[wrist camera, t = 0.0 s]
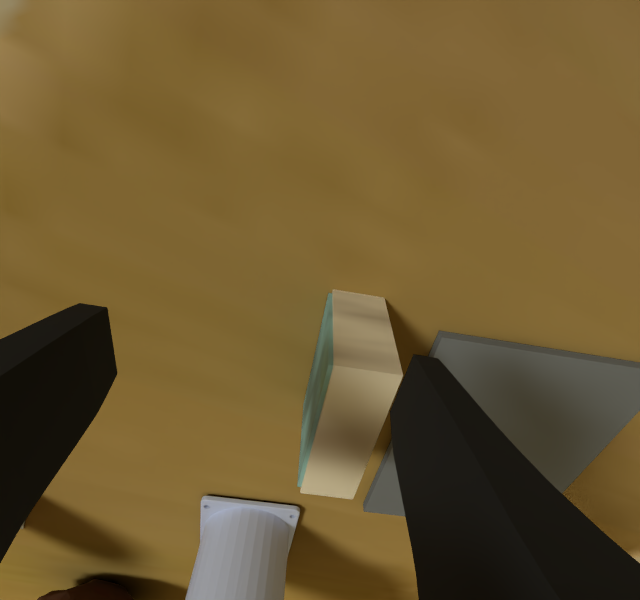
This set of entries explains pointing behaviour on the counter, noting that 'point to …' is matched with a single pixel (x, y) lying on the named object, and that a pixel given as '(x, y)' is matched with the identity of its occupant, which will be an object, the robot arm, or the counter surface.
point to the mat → (532, 405)
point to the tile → (347, 394)
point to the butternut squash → (90, 592)
